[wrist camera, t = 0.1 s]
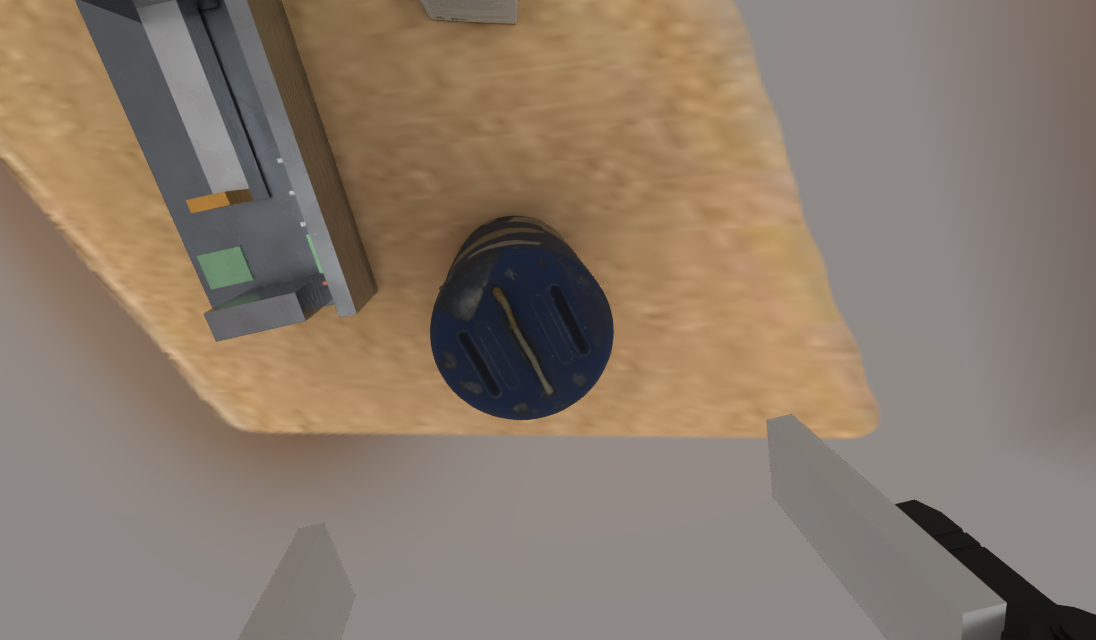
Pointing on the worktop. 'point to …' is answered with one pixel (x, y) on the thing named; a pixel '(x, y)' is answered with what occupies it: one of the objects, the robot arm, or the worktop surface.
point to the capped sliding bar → (198, 97)
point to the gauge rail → (282, 158)
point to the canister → (520, 322)
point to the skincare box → (472, 10)
